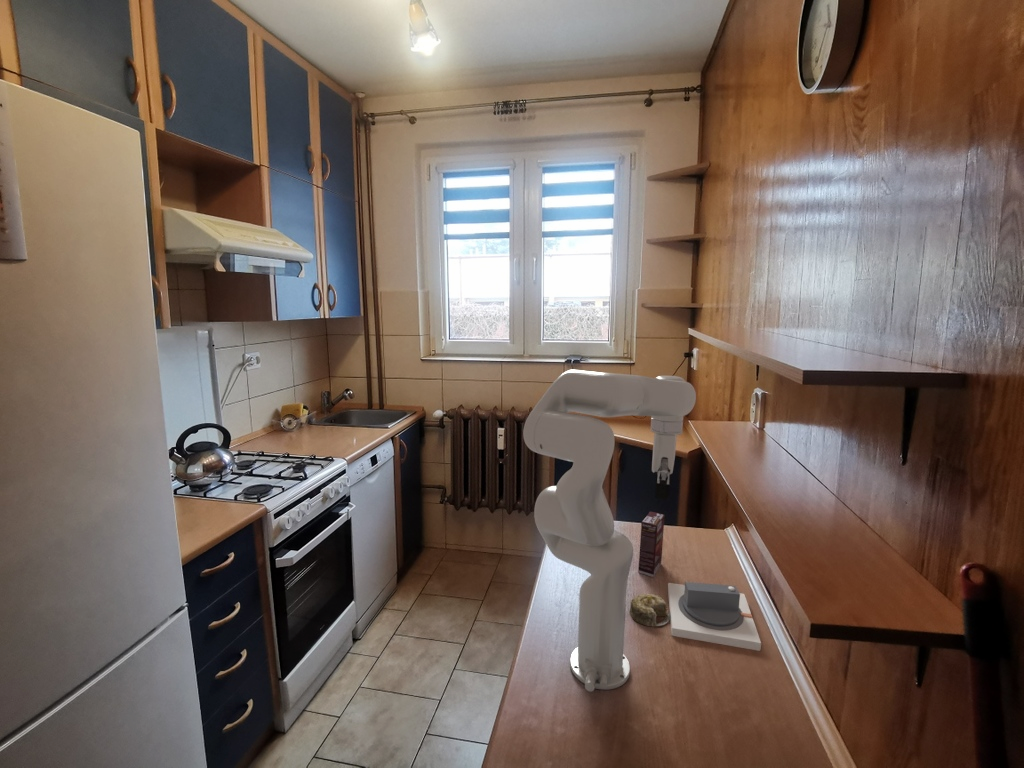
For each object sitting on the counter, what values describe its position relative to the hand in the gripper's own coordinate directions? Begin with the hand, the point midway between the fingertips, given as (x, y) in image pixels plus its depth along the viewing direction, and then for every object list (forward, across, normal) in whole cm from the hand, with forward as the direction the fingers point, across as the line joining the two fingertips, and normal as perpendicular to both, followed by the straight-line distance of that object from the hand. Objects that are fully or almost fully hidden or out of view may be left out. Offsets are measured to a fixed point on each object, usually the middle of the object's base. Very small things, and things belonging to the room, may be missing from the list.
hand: (662, 491), depth 121 cm
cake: (+31, +6, -1) cm, 31 cm away
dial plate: (+30, +3, +13) cm, 33 cm away
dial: (+28, +3, +13) cm, 31 cm away
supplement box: (+30, -15, -2) cm, 34 cm away
